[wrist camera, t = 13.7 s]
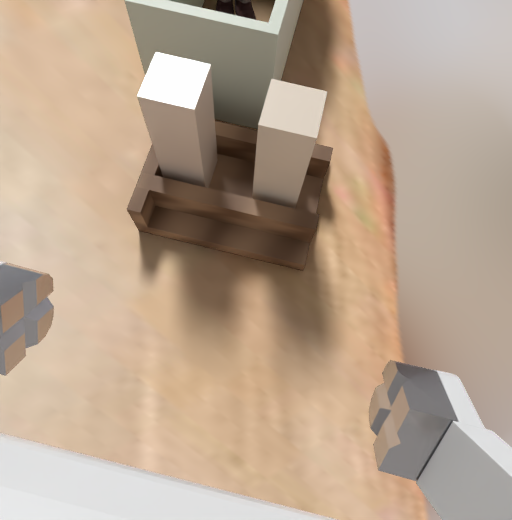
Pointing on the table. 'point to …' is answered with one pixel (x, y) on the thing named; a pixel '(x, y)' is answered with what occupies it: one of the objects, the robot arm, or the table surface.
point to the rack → (231, 204)
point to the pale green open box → (220, 48)
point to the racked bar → (180, 118)
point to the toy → (236, 8)
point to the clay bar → (286, 141)
